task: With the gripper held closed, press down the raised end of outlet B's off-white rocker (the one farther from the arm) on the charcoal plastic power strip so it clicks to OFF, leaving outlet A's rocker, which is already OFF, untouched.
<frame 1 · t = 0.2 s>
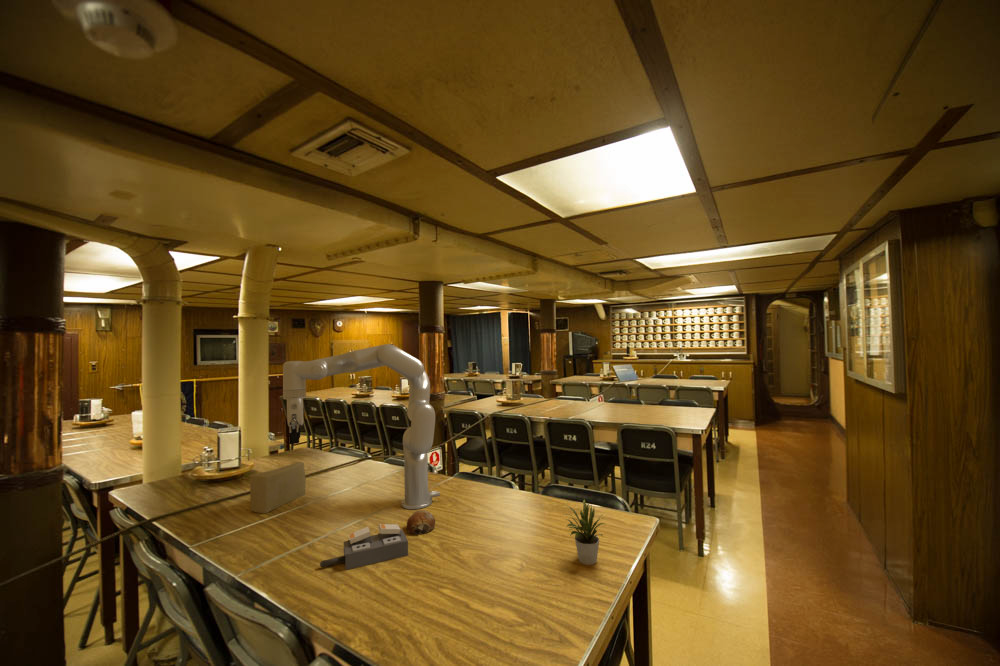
hand: (294, 440, 147), 31 cm above the table, fingers open, 9 cm apart
house plant: (585, 558, 119), on the table
brown round lump: (421, 529, 142), on the table
beige slab: (282, 503, 170), on the table
rocker A: (389, 528, 128), point 6 cm above the table, hinge at -12.0°
power strip: (375, 555, 124), on the table
rocker B: (359, 535, 124), point 6 cm above the table, hinge at 12.0°
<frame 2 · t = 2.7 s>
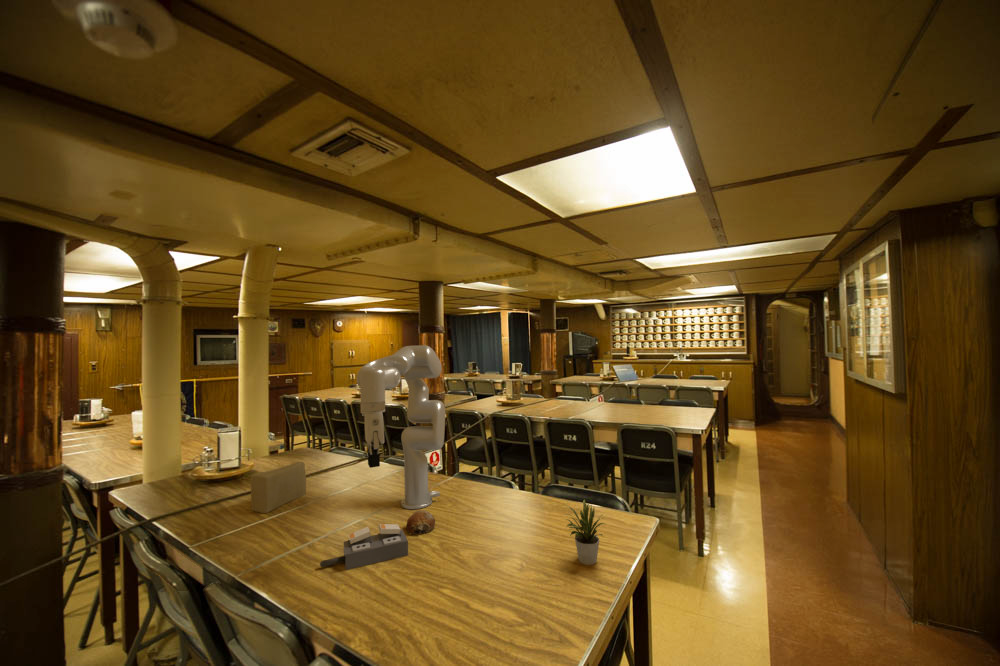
hand: (373, 465, 127), 27 cm above the table, fingers closed
nothing on the table moved.
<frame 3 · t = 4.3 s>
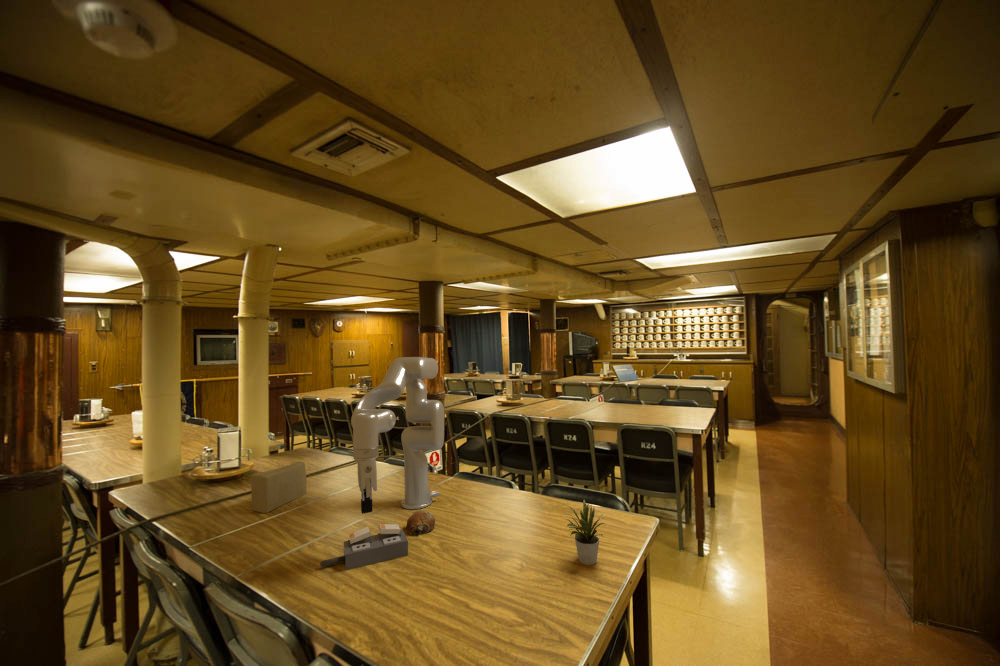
hand: (366, 511, 125), 13 cm above the table, fingers closed
nothing on the table moved.
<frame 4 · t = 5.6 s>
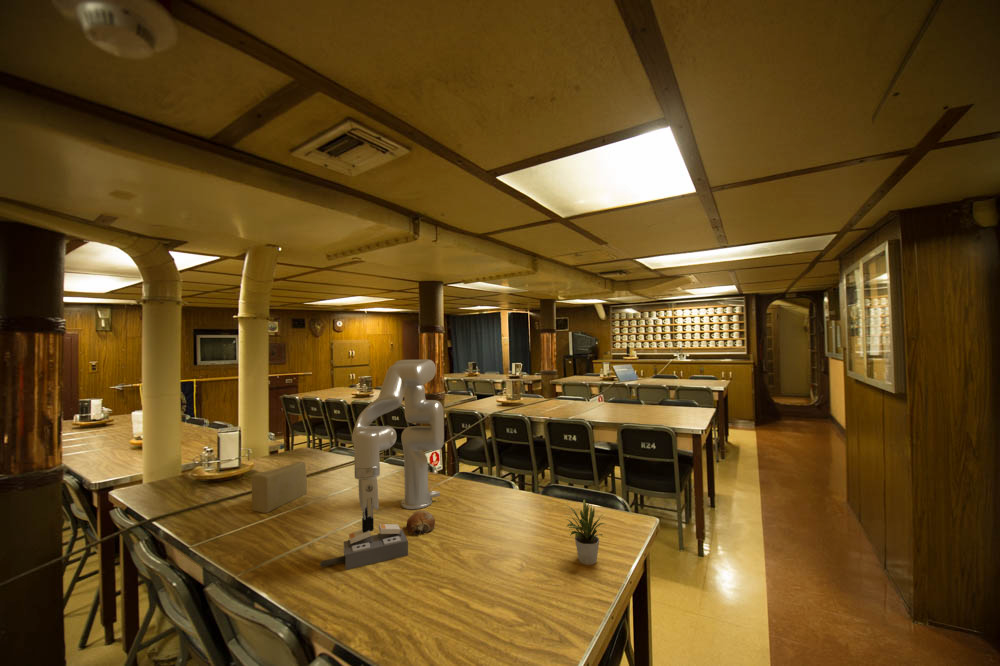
hand: (367, 530, 125), 7 cm above the table, fingers closed
rocker B: (359, 535, 124), point 6 cm above the table, hinge at 10.9°, touching gripper
everything else where it was.
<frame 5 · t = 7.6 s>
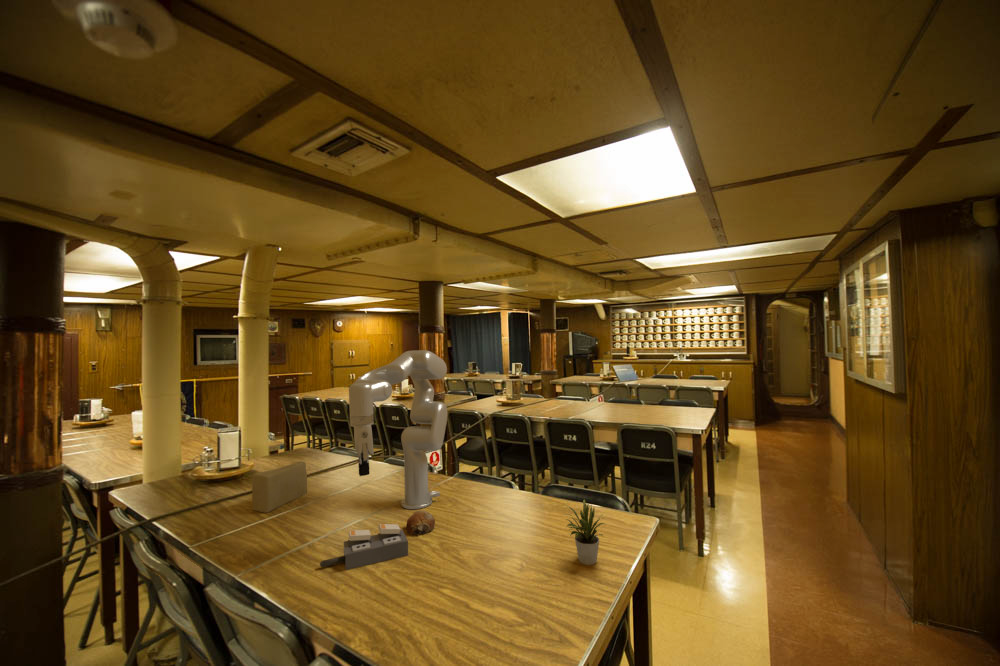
hand: (364, 474, 134), 22 cm above the table, fingers closed
rocker B: (359, 535, 124), point 6 cm above the table, hinge at -9.7°
everything else where it was.
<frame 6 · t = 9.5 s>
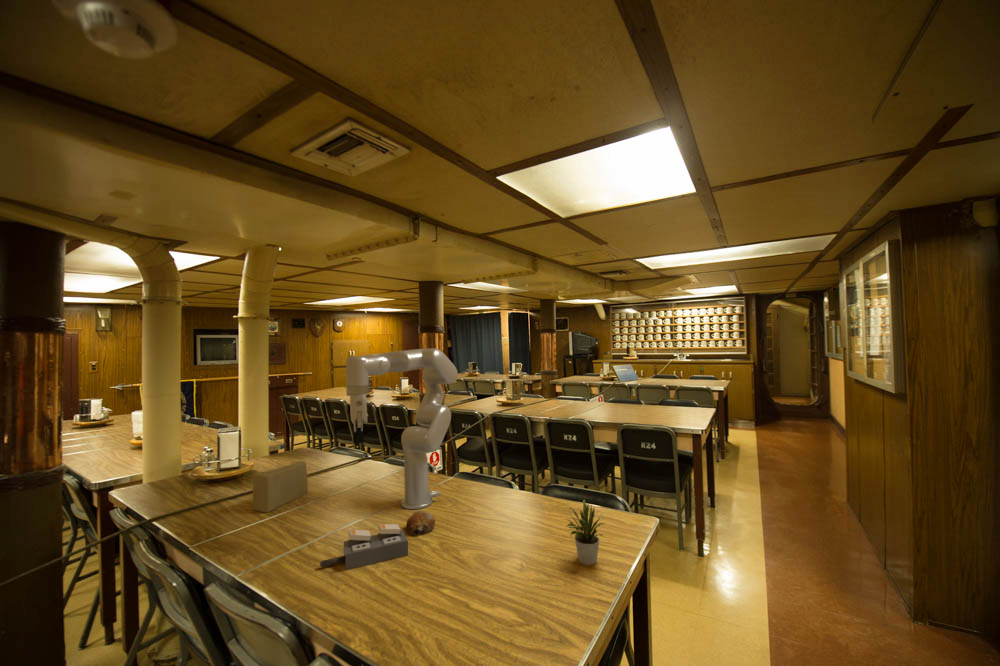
hand: (358, 442, 142), 31 cm above the table, fingers closed
rocker B: (359, 535, 124), point 6 cm above the table, hinge at -15.1°
at the end: rocker B at -15° (first picture: +12°); rocker A at -12° (first picture: -12°) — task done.
